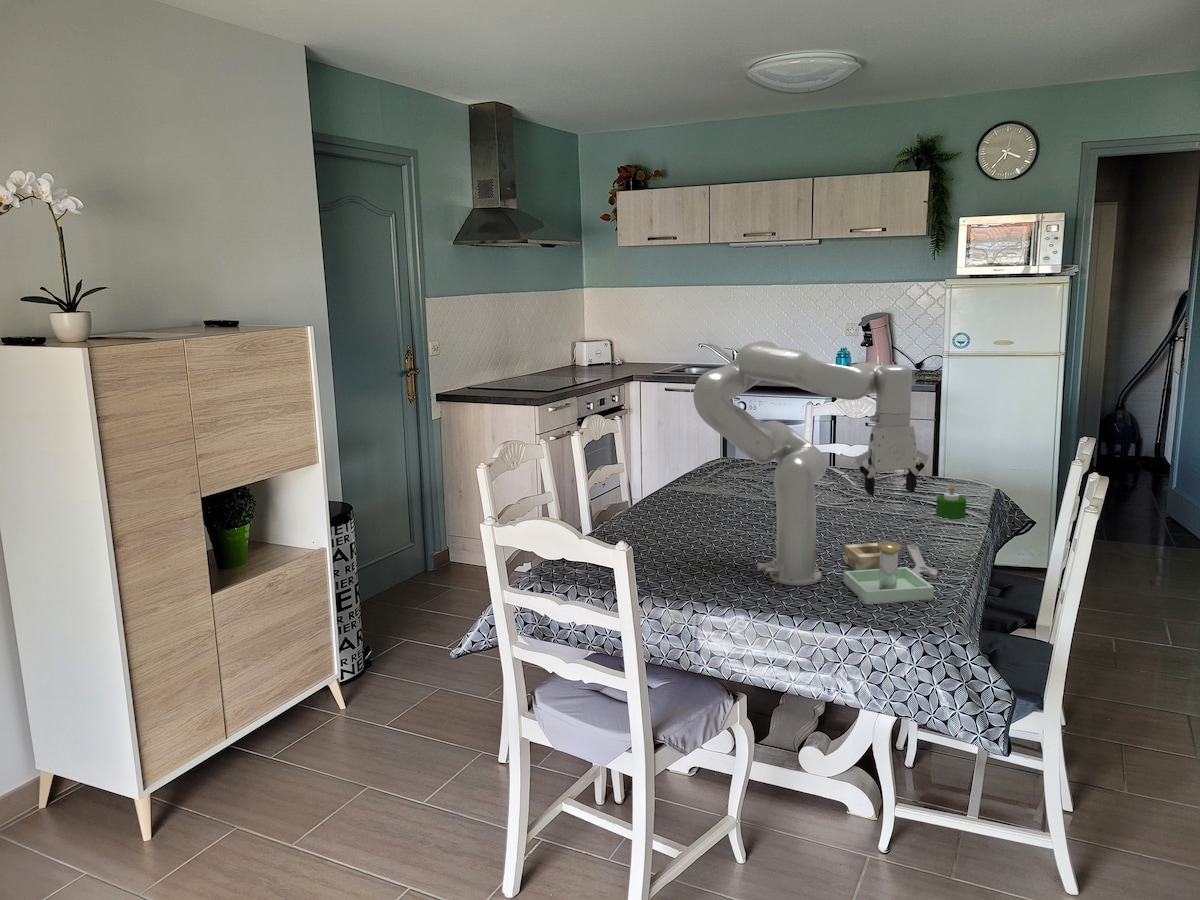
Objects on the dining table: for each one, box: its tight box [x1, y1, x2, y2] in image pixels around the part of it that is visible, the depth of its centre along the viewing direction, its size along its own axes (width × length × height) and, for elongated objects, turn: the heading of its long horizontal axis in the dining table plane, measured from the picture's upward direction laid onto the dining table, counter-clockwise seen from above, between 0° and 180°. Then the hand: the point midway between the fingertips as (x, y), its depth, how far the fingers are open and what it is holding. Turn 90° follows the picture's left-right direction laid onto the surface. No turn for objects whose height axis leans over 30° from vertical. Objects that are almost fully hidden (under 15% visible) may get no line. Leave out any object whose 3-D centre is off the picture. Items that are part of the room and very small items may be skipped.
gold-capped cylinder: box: [877, 540, 902, 590], centre depth 207 cm, size 5×5×11 cm
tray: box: [842, 566, 935, 605], centre depth 208 cm, size 16×14×3 cm
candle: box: [935, 483, 967, 520], centre depth 265 cm, size 8×8×10 cm
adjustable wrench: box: [906, 544, 938, 580], centre depth 226 cm, size 25×6×2 cm, turn 164°
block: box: [843, 542, 899, 571], centre depth 224 cm, size 10×10×4 cm
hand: (890, 492), depth 203 cm, fingers open, 9 cm apart
